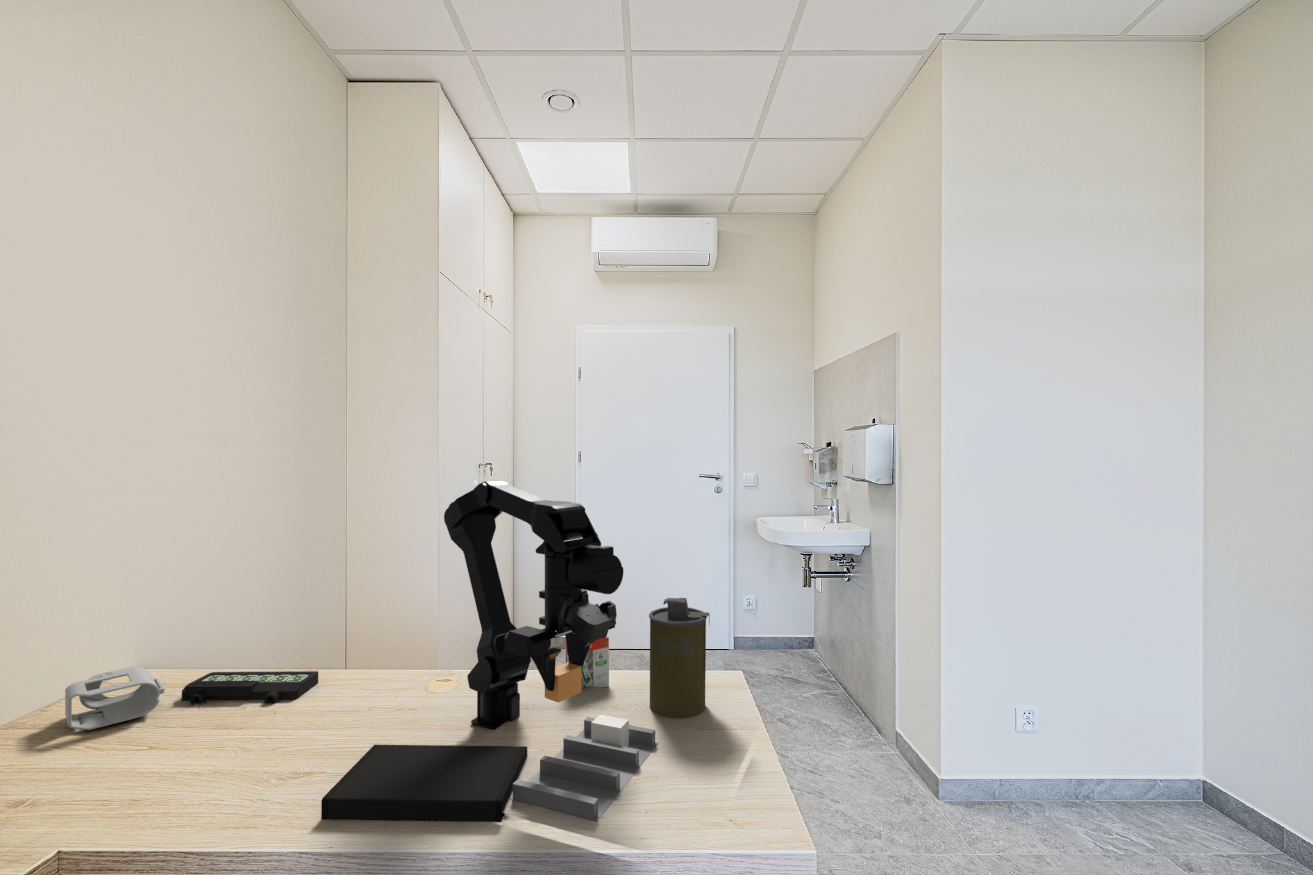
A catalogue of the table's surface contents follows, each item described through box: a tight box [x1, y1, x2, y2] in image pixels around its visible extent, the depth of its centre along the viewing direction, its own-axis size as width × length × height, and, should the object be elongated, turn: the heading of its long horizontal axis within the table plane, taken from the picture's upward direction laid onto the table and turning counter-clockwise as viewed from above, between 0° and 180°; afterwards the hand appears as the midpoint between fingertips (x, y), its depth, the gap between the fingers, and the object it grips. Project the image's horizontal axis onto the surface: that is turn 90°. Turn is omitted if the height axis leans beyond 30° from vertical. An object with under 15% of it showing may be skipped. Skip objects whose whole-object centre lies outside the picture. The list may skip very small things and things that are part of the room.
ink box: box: [565, 636, 610, 690], centre depth 119 cm, size 4×8×15 cm, turn 123°
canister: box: [648, 597, 711, 720], centre depth 109 cm, size 11×10×20 cm
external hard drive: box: [320, 744, 528, 823], centre depth 84 cm, size 14×23×3 cm, turn 89°
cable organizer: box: [64, 666, 165, 731], centre depth 106 cm, size 7×12×12 cm
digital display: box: [181, 670, 319, 706], centre depth 116 cm, size 21×3×10 cm
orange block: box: [544, 662, 582, 703], centre depth 94 cm, size 5×3×4 cm, turn 143°
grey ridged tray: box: [508, 716, 659, 823], centre depth 88 cm, size 13×21×3 cm, turn 159°
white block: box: [591, 714, 630, 747], centre depth 94 cm, size 5×3×4 cm, turn 69°
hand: (563, 684), depth 94 cm, fingers closed on orange block, 5 cm apart
